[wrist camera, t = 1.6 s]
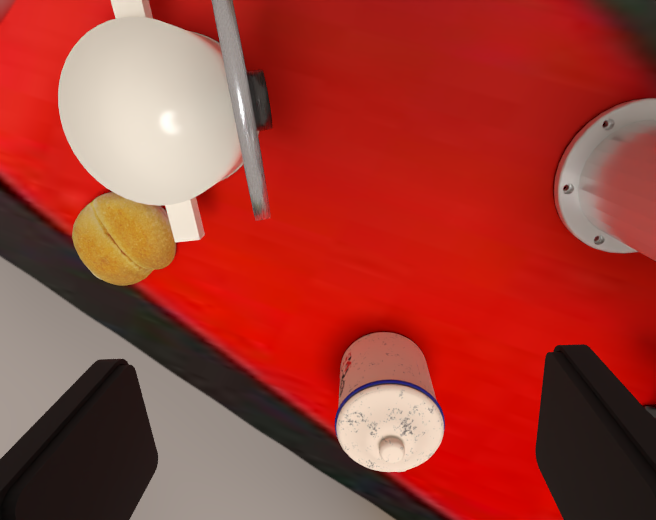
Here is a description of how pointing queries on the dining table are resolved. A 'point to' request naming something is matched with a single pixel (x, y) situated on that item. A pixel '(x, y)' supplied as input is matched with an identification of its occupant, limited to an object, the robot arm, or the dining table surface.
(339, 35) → the dining table surface
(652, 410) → the coffee press
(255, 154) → the lid
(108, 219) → the bread roll
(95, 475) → the robot arm
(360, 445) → the teacup with lid
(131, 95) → the pot
